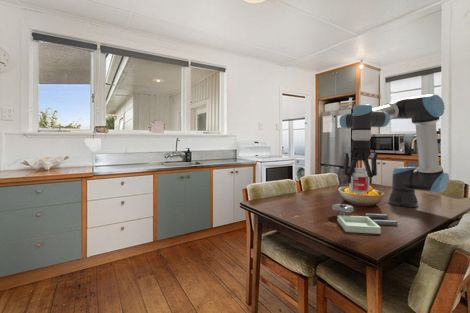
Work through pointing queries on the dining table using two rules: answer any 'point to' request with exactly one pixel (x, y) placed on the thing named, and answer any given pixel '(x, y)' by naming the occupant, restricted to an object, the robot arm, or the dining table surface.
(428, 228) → the dining table surface
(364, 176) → the pill bottle
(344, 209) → the pulley
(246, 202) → the dining table surface
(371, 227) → the tray
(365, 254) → the dining table surface
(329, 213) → the dining table surface
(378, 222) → the tensioner bracket
